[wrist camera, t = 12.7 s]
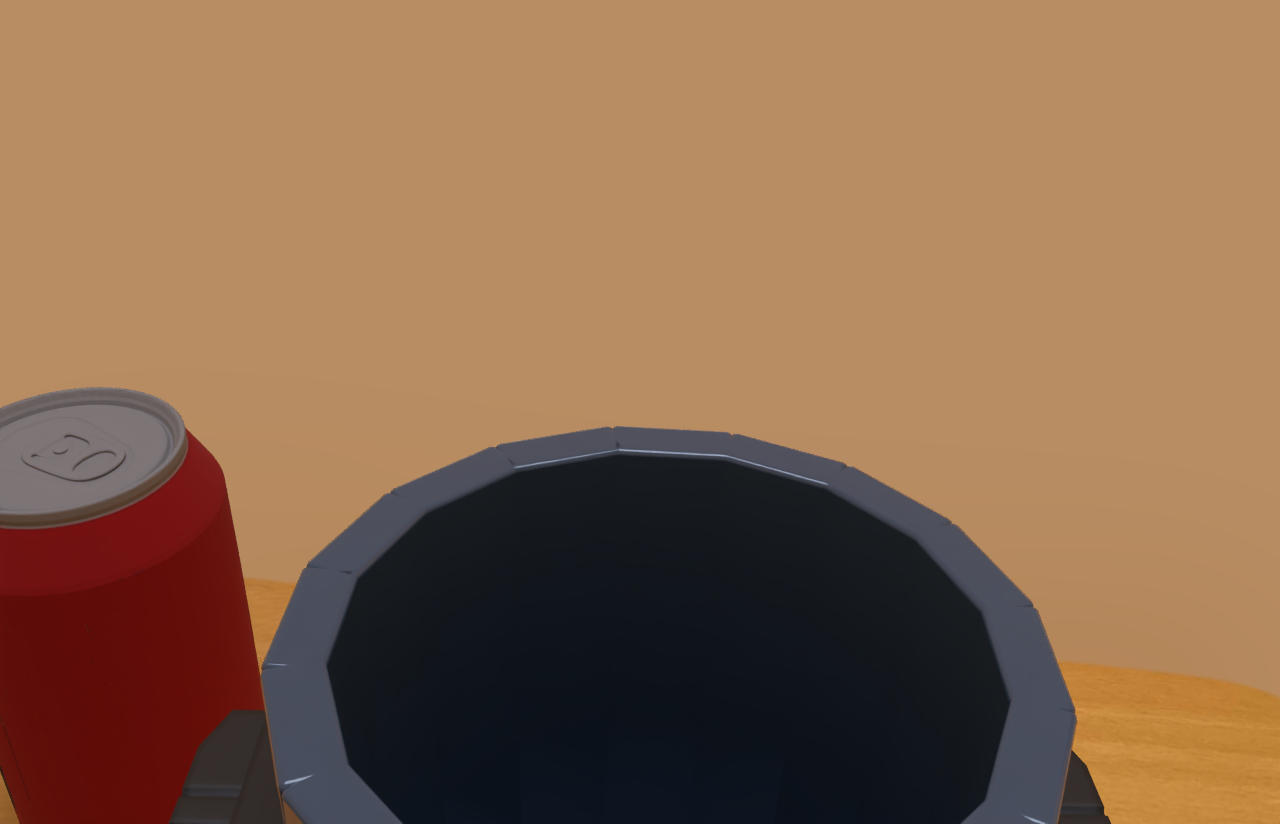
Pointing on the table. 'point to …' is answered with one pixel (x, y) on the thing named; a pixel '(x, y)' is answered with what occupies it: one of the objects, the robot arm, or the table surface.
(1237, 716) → the table surface
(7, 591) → the beverage can
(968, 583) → the cup
